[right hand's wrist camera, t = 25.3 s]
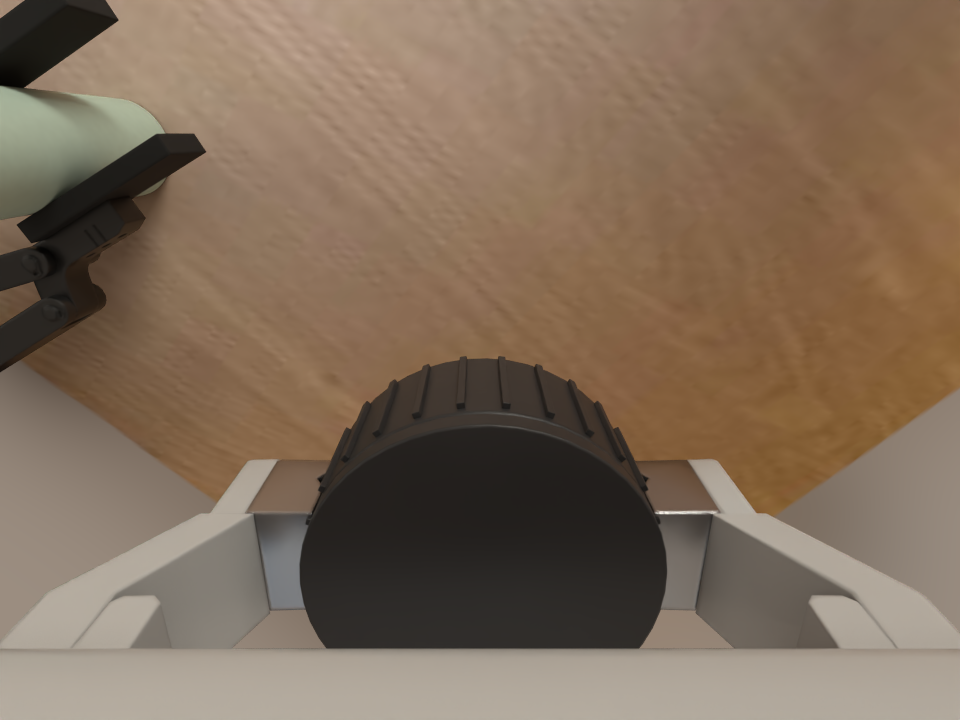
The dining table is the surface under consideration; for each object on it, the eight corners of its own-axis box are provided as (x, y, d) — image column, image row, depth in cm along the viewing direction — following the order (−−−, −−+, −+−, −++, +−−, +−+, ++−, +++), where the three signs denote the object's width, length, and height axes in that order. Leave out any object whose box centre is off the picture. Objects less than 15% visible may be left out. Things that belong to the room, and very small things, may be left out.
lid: (489, 285, 9) (493, 335, 7) (691, 496, 10) (750, 594, 8) (271, 486, 10) (214, 583, 8) (476, 649, 12) (476, 770, 9)
